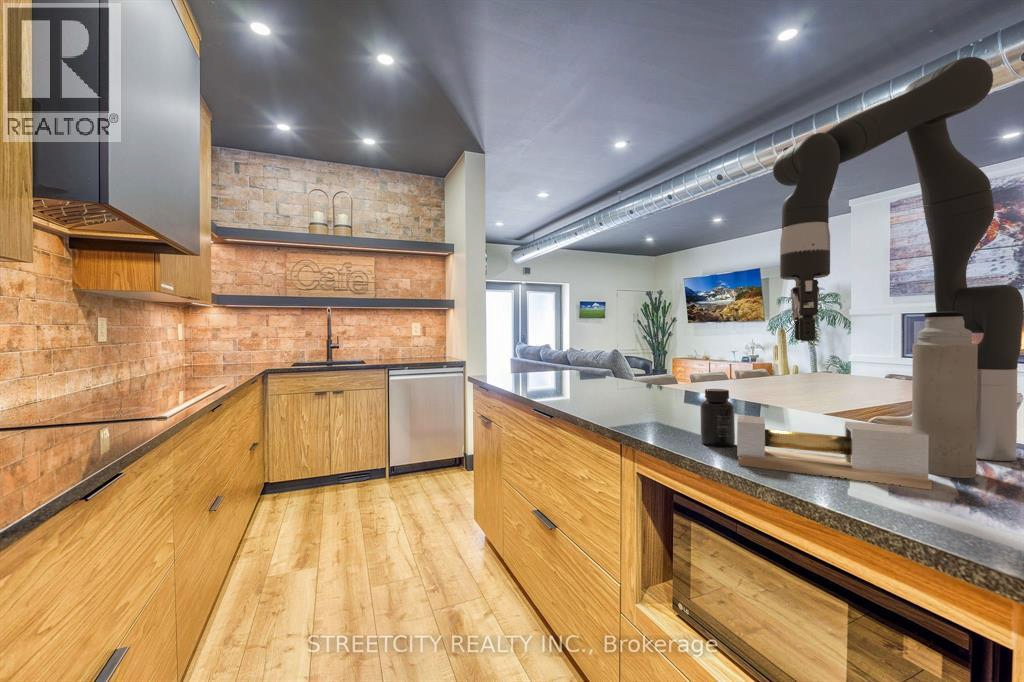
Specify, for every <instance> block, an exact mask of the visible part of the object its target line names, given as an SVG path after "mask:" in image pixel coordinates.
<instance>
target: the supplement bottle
mask: <svg viewBox="0 0 1024 682" xmlns="http://www.w3.org/2000/svg"><path fill="white" fill-rule="evenodd" d="M704 398H705V400H703V401H702V402H701V404H700V406H699V407H700V441H701V443H702V444H703V445H707V446H710V447H715V448H716V447H718V448H728V447H733V446H734V445H735V443H736V433H735V432H736V431H735V429H736V427H735V426H736V425H735V423H736V422H735V406H734V404H733V403H732V402H730V401H729V399H730V391H729V389H723V388H705V389H704Z"/></svg>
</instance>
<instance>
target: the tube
mask: <svg viewBox="0 0 1024 682" xmlns="http://www.w3.org/2000/svg"><path fill="white" fill-rule="evenodd" d="M765 447H766V448H767V447H769V448H776V449H777V448H779V449H788V450H797V451H798V450H799V451H807V452H815V453H826V454H832V455H833V454H835V455H843V456H845V455H851V437H847V436H845V435H833V434H824V433H822V434H821V433H811V432H801V431H800V432H799V431H788V430H776V429H766V428H765Z"/></svg>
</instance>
